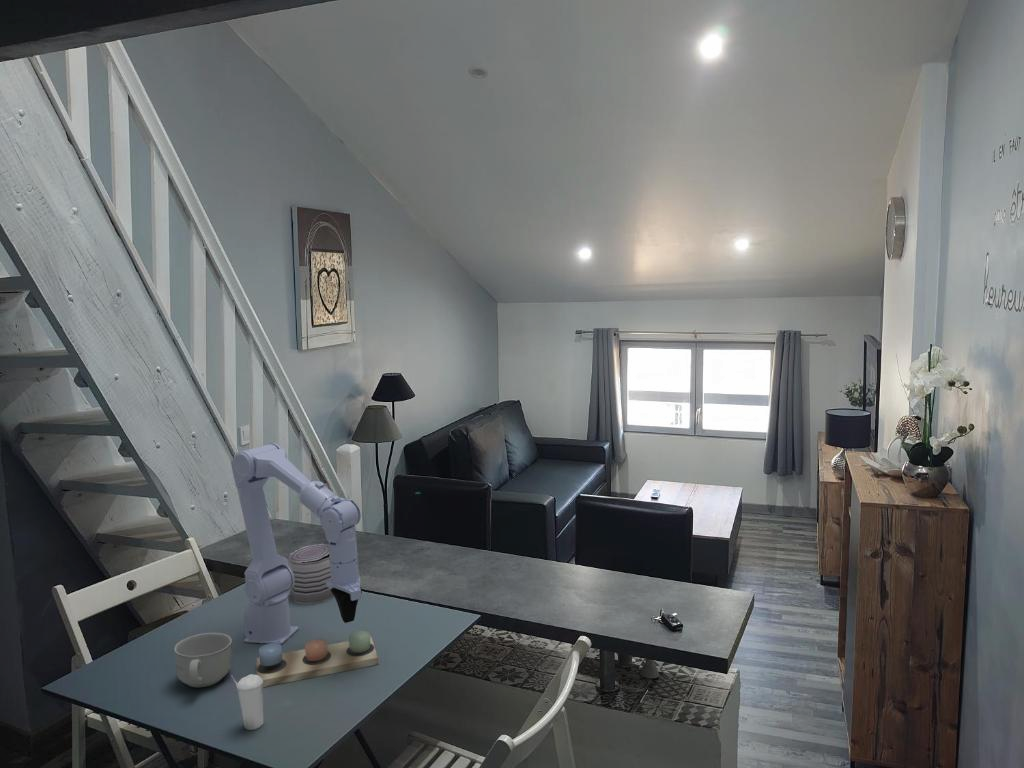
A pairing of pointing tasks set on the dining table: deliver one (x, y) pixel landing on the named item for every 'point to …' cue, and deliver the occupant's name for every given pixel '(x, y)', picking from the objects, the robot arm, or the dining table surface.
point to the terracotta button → (316, 650)
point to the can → (311, 574)
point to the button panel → (315, 664)
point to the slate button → (270, 654)
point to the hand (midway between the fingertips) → (348, 620)
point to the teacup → (203, 659)
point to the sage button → (359, 641)
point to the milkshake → (251, 700)
